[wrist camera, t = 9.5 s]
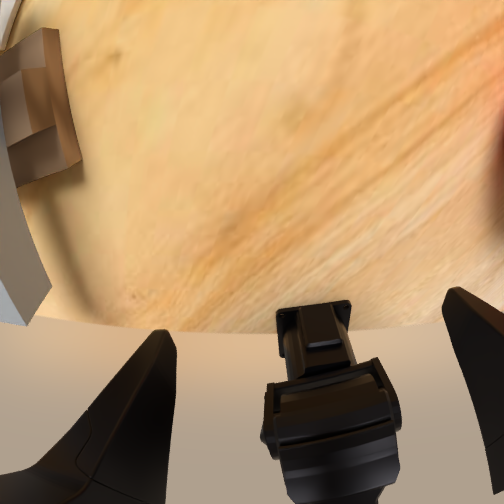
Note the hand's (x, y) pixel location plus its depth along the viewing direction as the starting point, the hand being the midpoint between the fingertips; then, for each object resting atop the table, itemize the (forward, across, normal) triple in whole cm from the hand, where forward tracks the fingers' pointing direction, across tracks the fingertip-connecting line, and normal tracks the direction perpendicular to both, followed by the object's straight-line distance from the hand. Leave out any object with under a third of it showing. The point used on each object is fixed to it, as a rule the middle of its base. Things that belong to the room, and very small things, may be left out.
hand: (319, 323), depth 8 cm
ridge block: (+12, +17, -9) cm, 22 cm away
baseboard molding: (+13, +15, -32) cm, 38 cm away
